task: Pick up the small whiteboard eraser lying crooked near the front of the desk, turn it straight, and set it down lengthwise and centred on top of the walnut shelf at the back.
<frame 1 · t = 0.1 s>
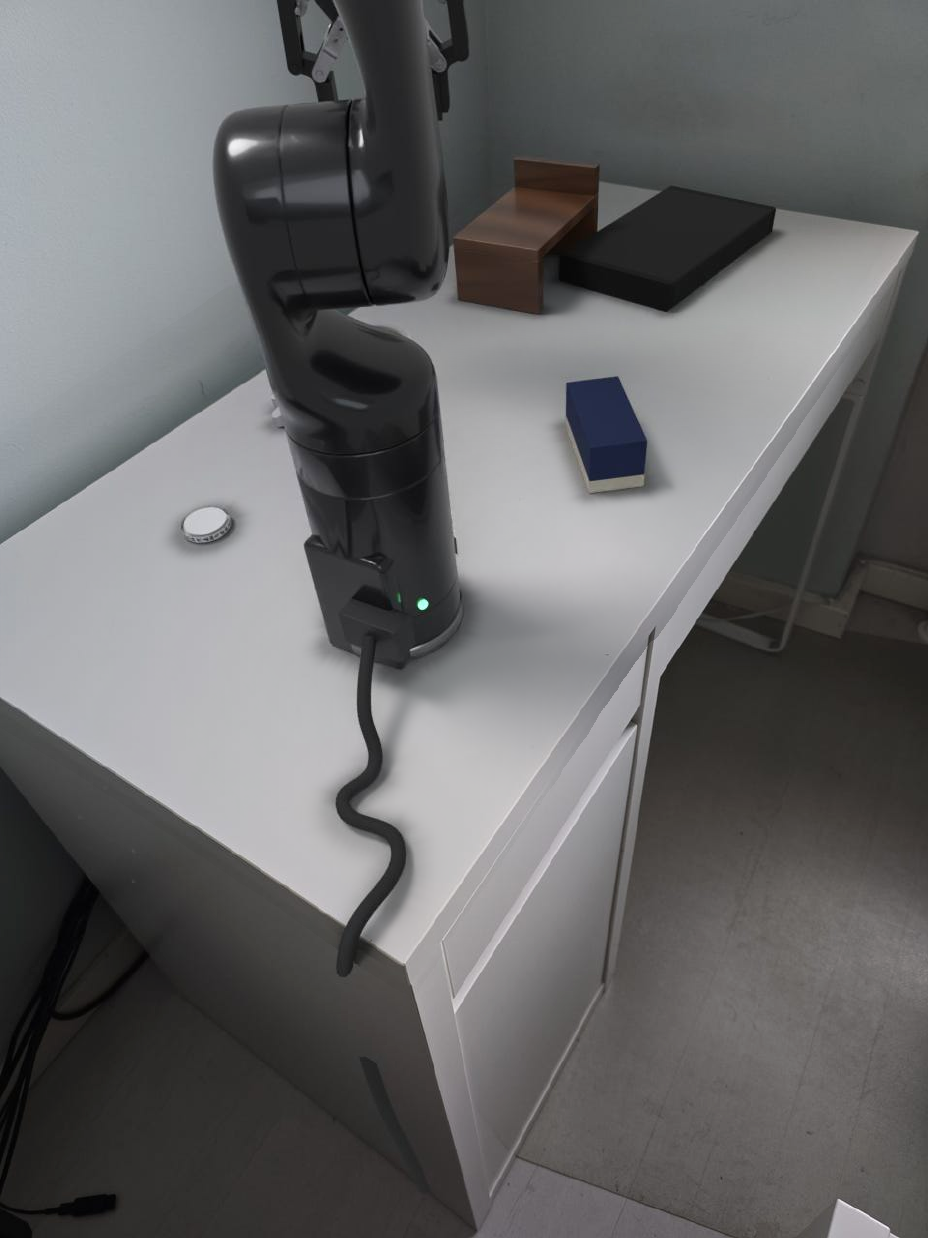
hand: (387, 120, 73), 22 cm above the table, tool pointing down, fingers open, 8 cm apart
whiteboard eraser: (602, 455, 75), on the table
white bottle cap: (207, 528, 72), on the table
external hard drive: (667, 258, 101), on the table
shelf: (529, 276, 100), on the table
game controller: (326, 402, 85), on the table
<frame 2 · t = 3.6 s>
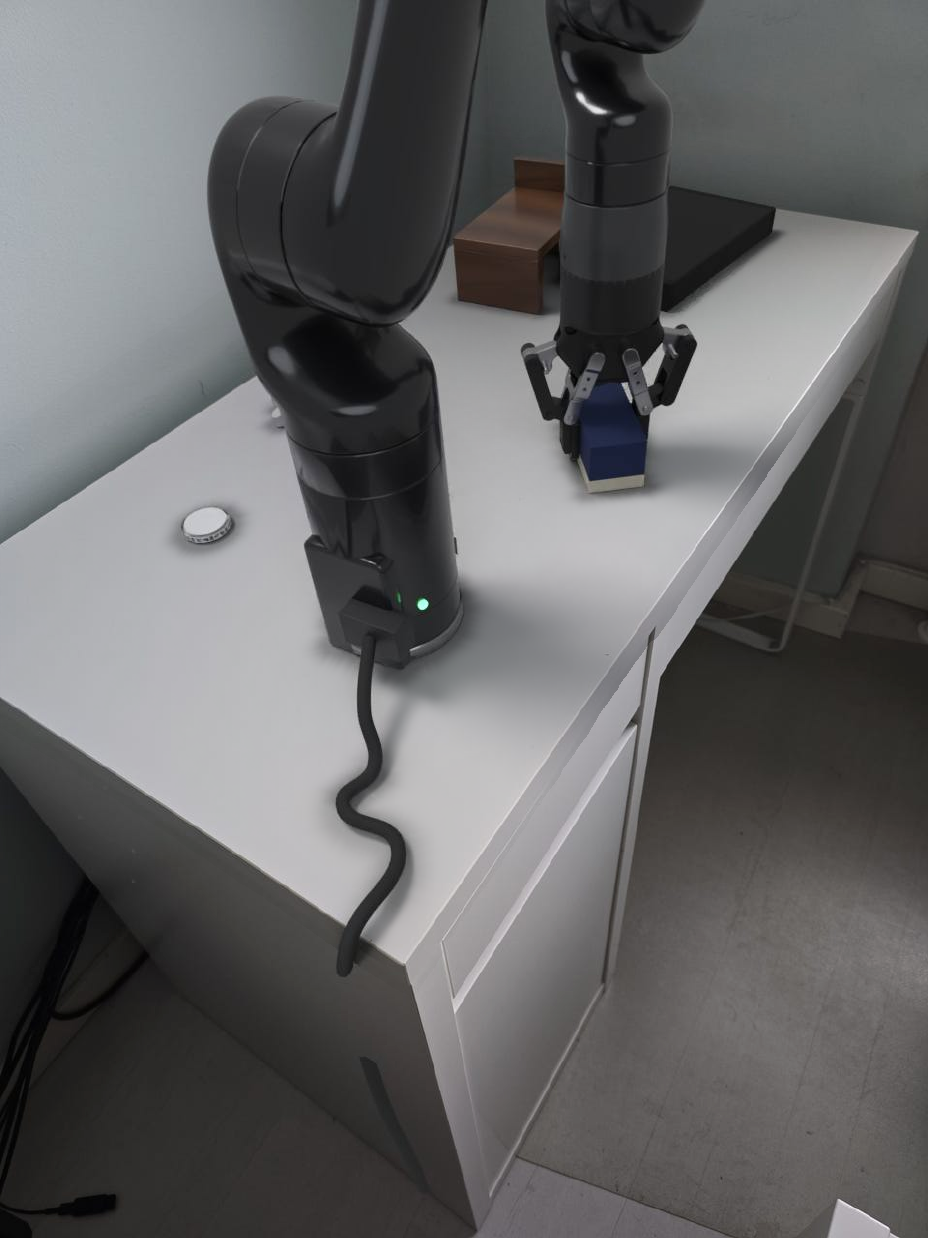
hand: (603, 449, 75), 1 cm above the table, tool pointing down, fingers closed on whiteboard eraser, 4 cm apart
whiteboard eraser: (602, 455, 75), on the table, touching gripper
everything else where it was.
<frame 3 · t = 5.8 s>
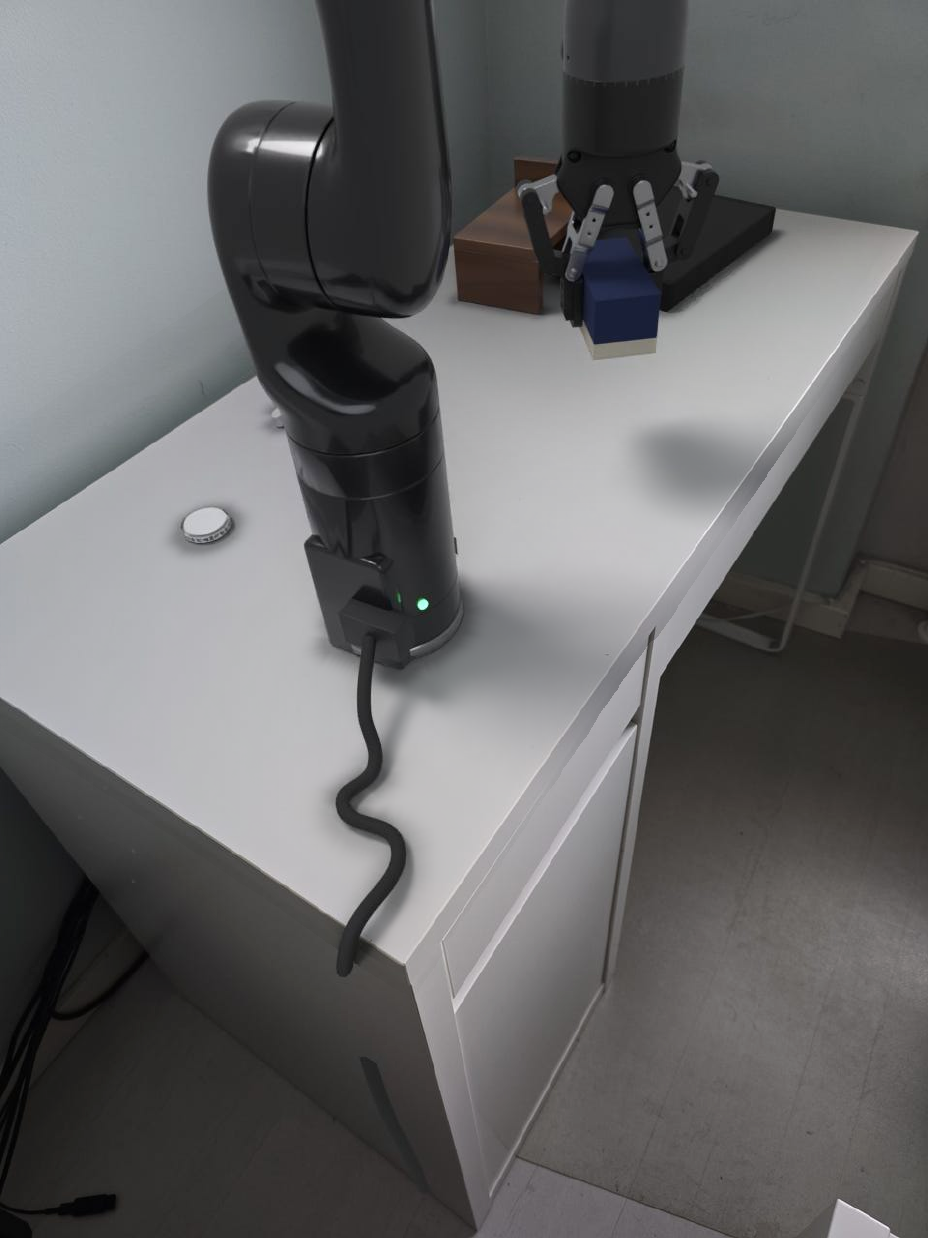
hand: (609, 317, 66), 13 cm above the table, tool pointing down, fingers closed on whiteboard eraser, 4 cm apart
whiteboard eraser: (609, 324, 66), point 12 cm above the table, touching gripper
everything else where it was.
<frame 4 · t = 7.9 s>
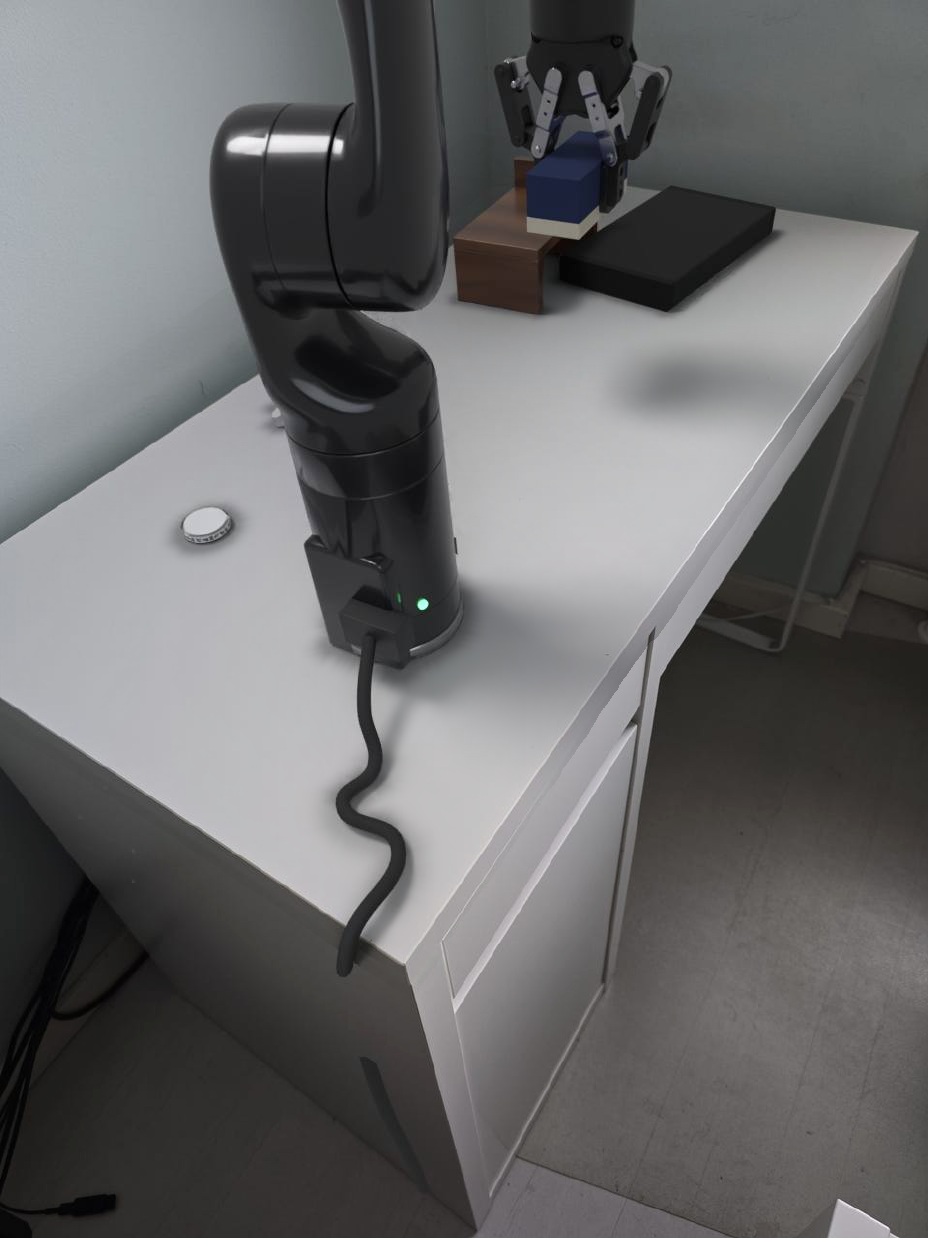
hand: (578, 204, 72), 16 cm above the table, tool pointing down, fingers closed on whiteboard eraser, 4 cm apart
whiteboard eraser: (578, 211, 73), point 16 cm above the table, touching gripper
everything else where it was.
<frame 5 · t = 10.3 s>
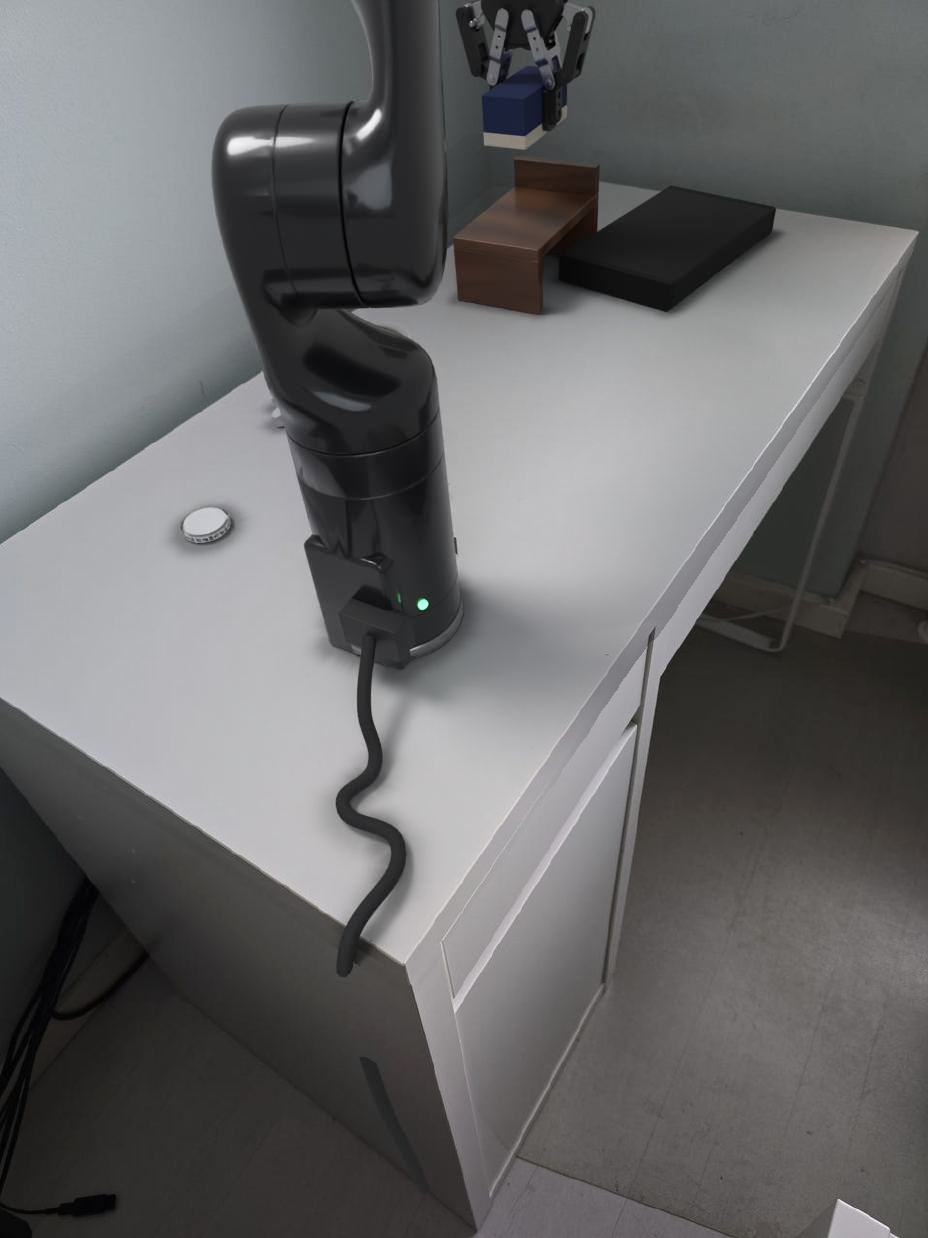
hand: (526, 125, 89), 16 cm above the table, tool pointing down, fingers closed on whiteboard eraser, 4 cm apart
whiteboard eraser: (526, 130, 89), point 15 cm above the table, touching gripper
everything else where it was.
when the fingers open (8 cm above the table, at t = 12.5 s): whiteboard eraser stays where it is, resting on shelf.
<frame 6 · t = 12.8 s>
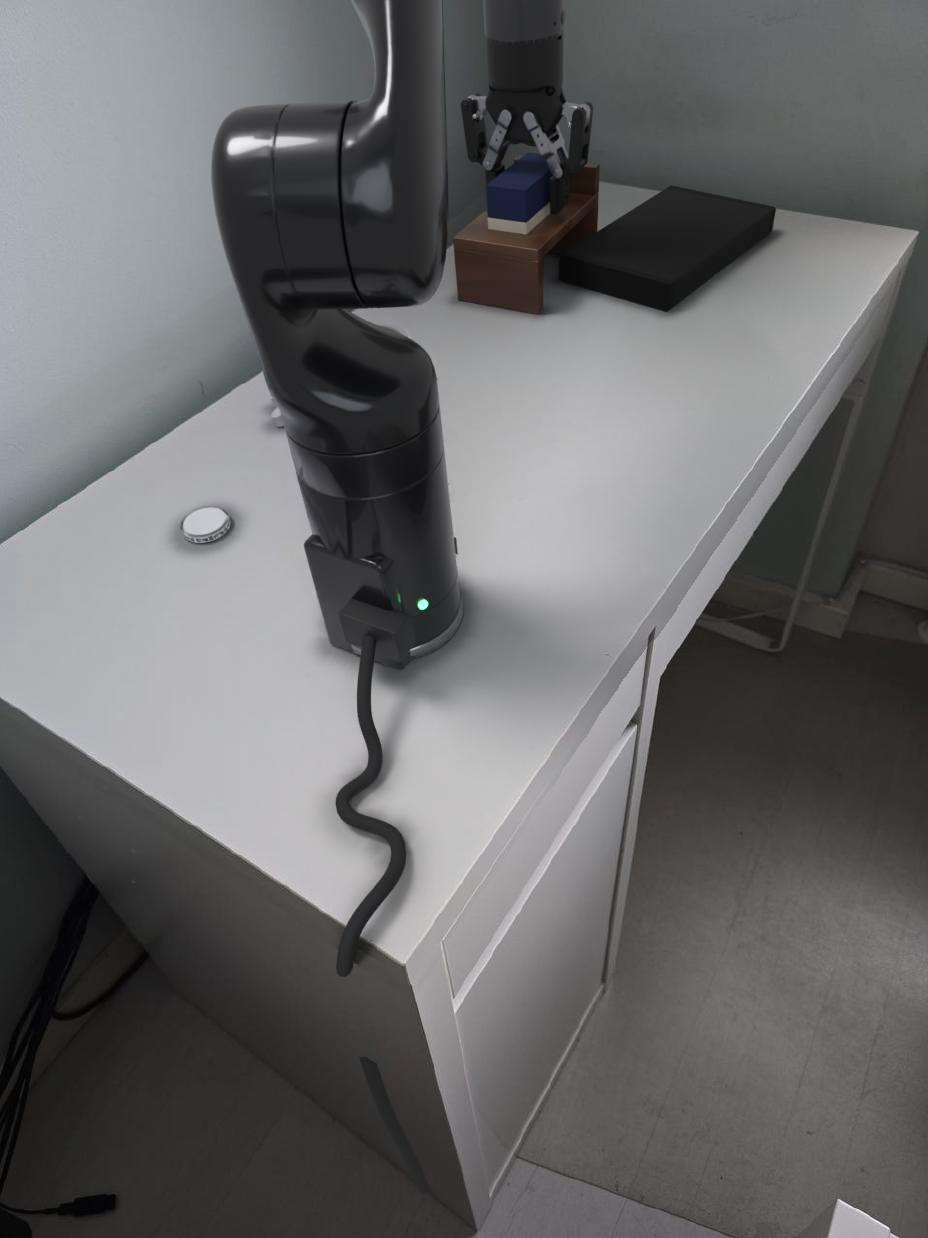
hand: (527, 206, 95), 8 cm above the table, tool pointing down, fingers open, 6 cm apart
whiteboard eraser: (527, 213, 95), point 7 cm above the table, touching shelf
everything else where it was.
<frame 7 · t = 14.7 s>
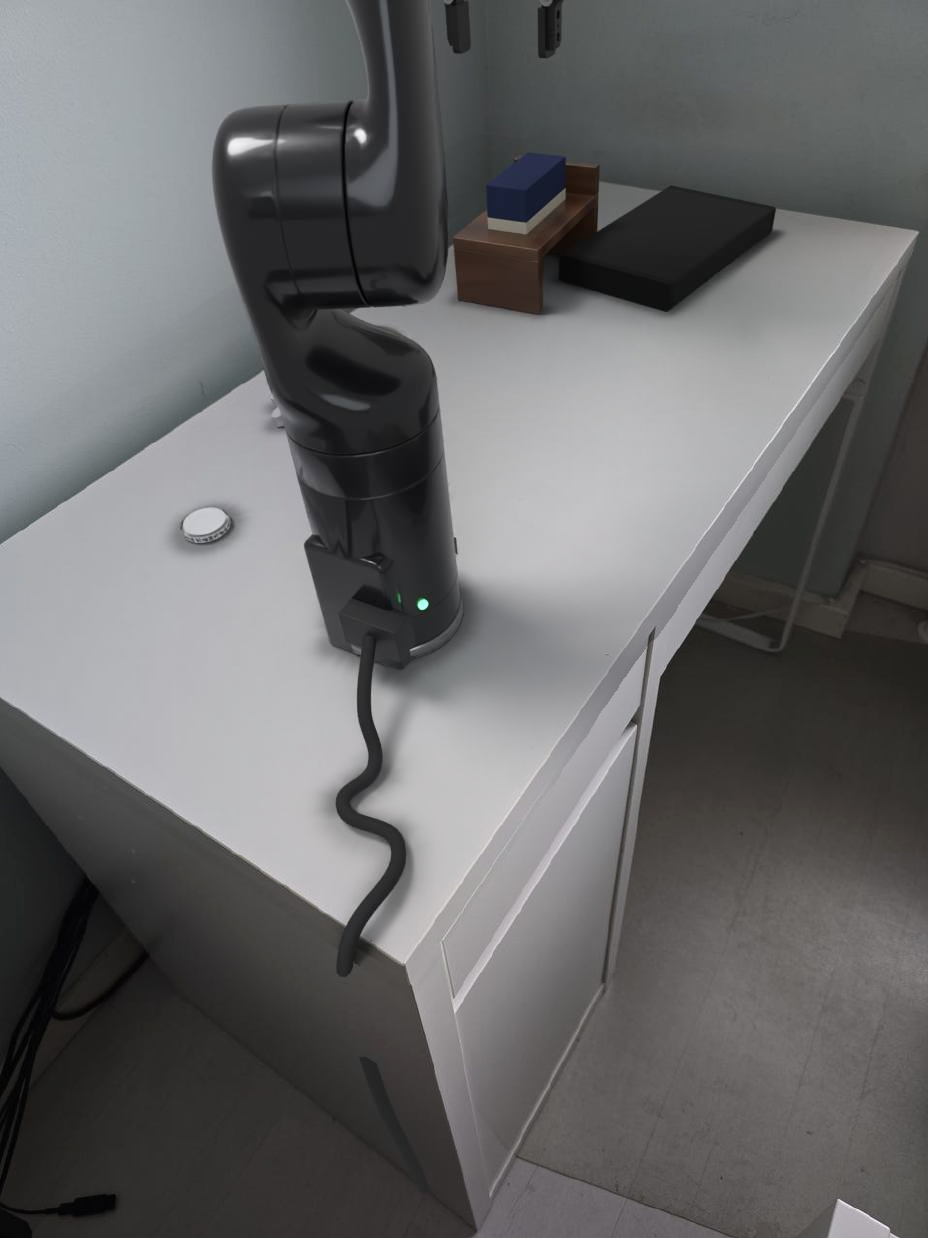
hand: (503, 53, 78), 24 cm above the table, tool pointing down, fingers open, 8 cm apart
nothing on the table moved.
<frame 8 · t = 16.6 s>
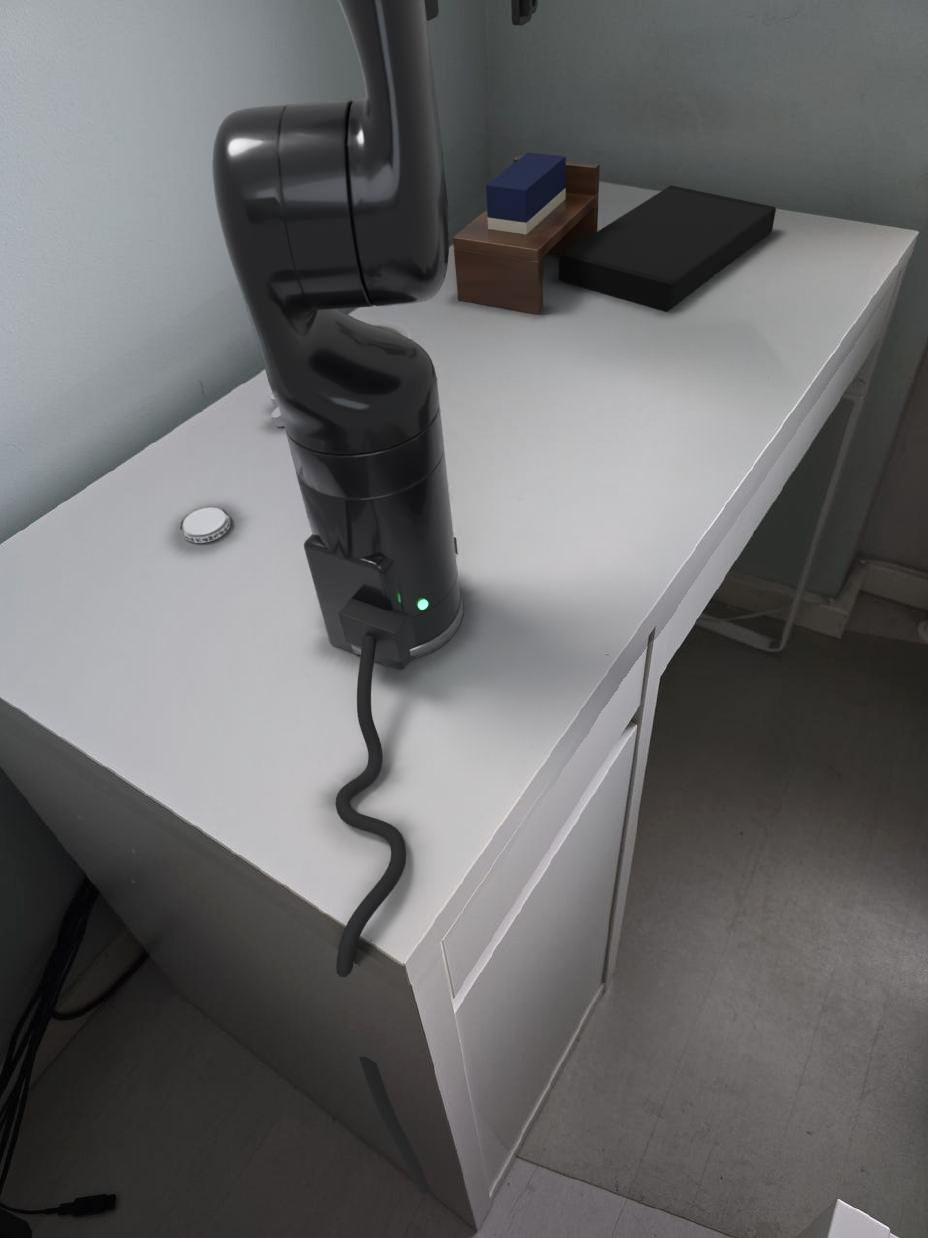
hand: (474, 20, 70), 28 cm above the table, tool pointing down, fingers open, 8 cm apart
nothing on the table moved.
at the end: whiteboard eraser 0.0 cm off-centre on the shelf, point 7.0 cm above the shelf's base; whiteboard eraser tilted 0°; the gripper is holding nothing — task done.
